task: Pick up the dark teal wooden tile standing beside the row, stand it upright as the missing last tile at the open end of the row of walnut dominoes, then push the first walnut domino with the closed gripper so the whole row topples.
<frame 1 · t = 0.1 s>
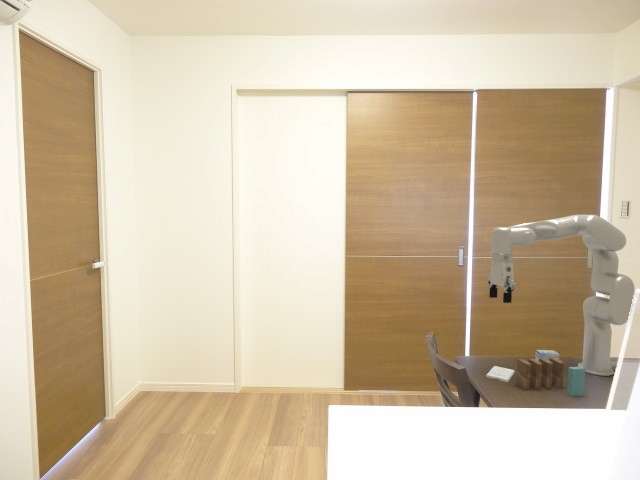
hand: (500, 300, 164), 31 cm above the table, tool pointing down, fingers open, 9 cm apart
external hard drive: (500, 376, 166), on the table
tile 2: (544, 386, 156), on the table
tile 4: (522, 387, 154), on the table
tile 1: (555, 385, 156), on the table
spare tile: (575, 394, 149), on the table
tile 3: (533, 386, 155), on the table
medicine box: (546, 372, 170), on the table
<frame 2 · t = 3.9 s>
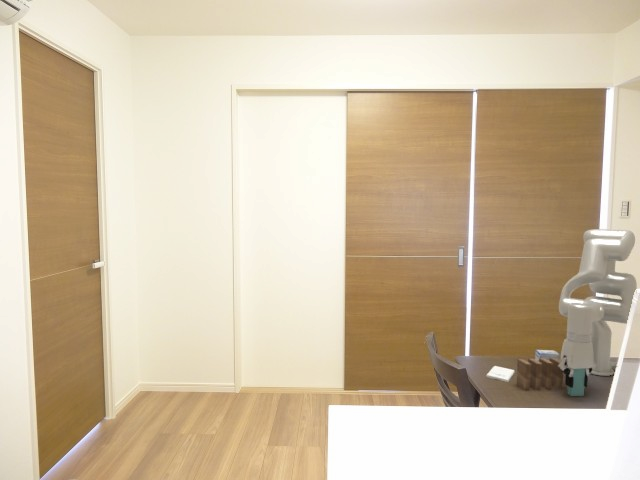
hand: (576, 385, 148), 3 cm above the table, tool pointing down, fingers closed on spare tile, 4 cm apart
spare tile: (575, 394, 149), on the table, touching gripper
everything else where it was.
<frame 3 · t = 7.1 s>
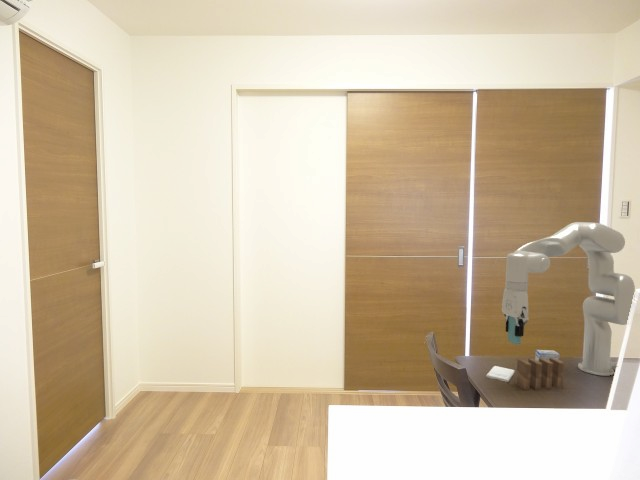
hand: (514, 333, 152), 21 cm above the table, tool pointing down, fingers closed on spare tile, 4 cm apart
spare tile: (514, 342, 153), point 18 cm above the table, touching gripper
everything else where it was.
when the fingers open (4 cm above the table, at t = 10.5 s): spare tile stays where it is, on the table.
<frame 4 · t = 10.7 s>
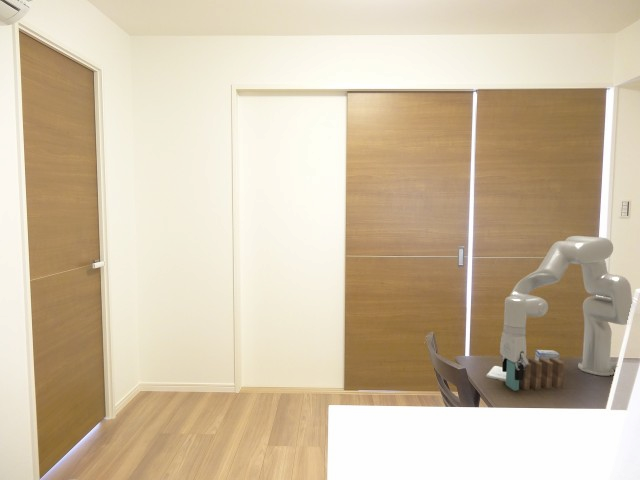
hand: (512, 375, 154), 5 cm above the table, tool pointing down, fingers open, 7 cm apart
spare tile: (512, 387, 154), on the table
everything else where it was.
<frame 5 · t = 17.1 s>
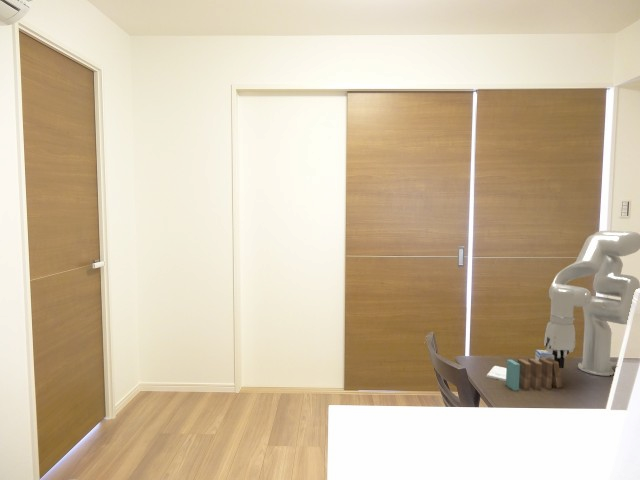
hand: (558, 366, 156), 7 cm above the table, tool pointing down, fingers closed
tile 1: (555, 384, 156), on the table, tilted 12°
everything else where it was.
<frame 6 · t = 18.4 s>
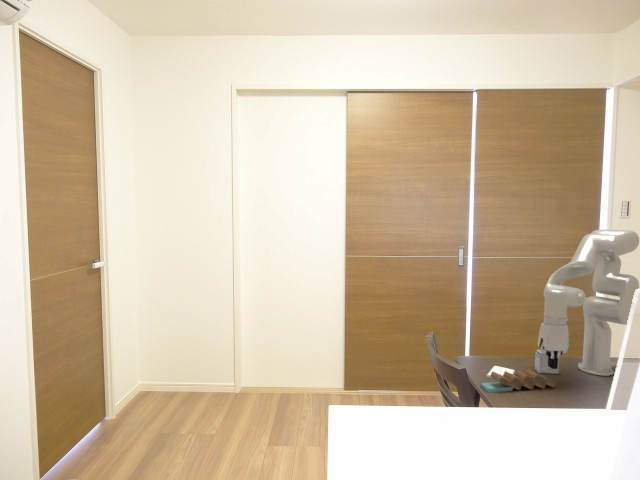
hand: (552, 367, 156), 7 cm above the table, tool pointing down, fingers closed
tile 2: (540, 383, 155), point 1 cm above the table, tilted 65°, touching tile 1, tile 3
tile 4: (516, 385, 154), point 1 cm above the table, tilted 66°, touching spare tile, tile 3
tile 1: (551, 383, 156), point 1 cm above the table, tilted 65°, touching tile 2
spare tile: (508, 387, 154), on the table, tilted 90°, touching tile 4
tile 3: (528, 384, 154), point 1 cm above the table, tilted 66°, touching tile 2, tile 4
everything else where it was.
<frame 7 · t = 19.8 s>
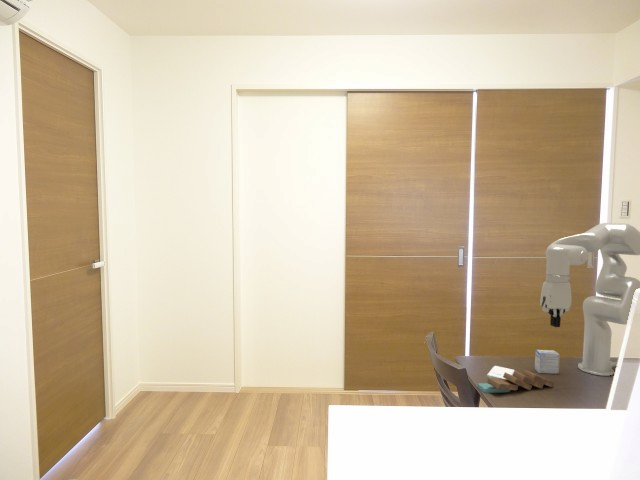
hand: (555, 326, 155), 23 cm above the table, tool pointing down, fingers closed
tile 4: (512, 384, 152), point 2 cm above the table, tilted 78°, touching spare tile, tile 3
tile 1: (548, 382, 156), point 1 cm above the table, tilted 66°, touching tile 2
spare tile: (506, 387, 153), on the table, tilted 90°, touching tile 4
tile 3: (525, 385, 154), point 1 cm above the table, tilted 64°, touching tile 2, tile 4
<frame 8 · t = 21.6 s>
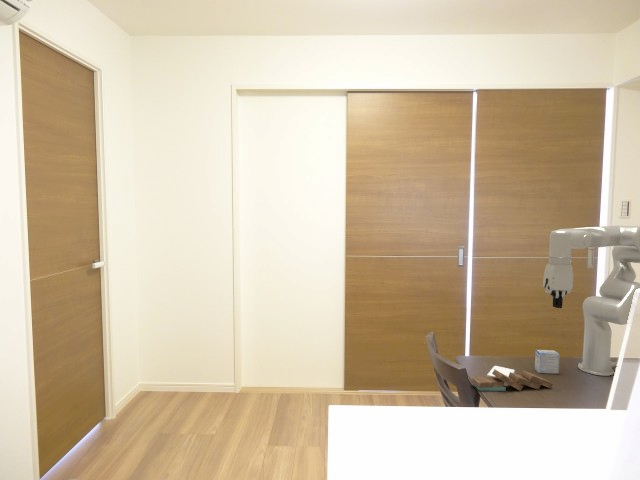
hand: (557, 307, 161), 29 cm above the table, tool pointing down, fingers closed
tile 2: (535, 384, 155), point 1 cm above the table, tilted 71°, touching tile 1, tile 3
tile 4: (500, 381, 153), point 2 cm above the table, tilted 90°, touching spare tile, tile 3
tile 1: (547, 383, 156), point 1 cm above the table, tilted 68°, touching tile 2
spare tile: (502, 386, 153), on the table, tilted 90°, touching tile 4
tile 3: (517, 386, 153), point 1 cm above the table, tilted 60°, touching tile 2, tile 4
everything else where it was.
at the end: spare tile tilted 90°; tile 1 tilted 68°; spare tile inside the target area (1.3 cm from its centre), on the table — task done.
